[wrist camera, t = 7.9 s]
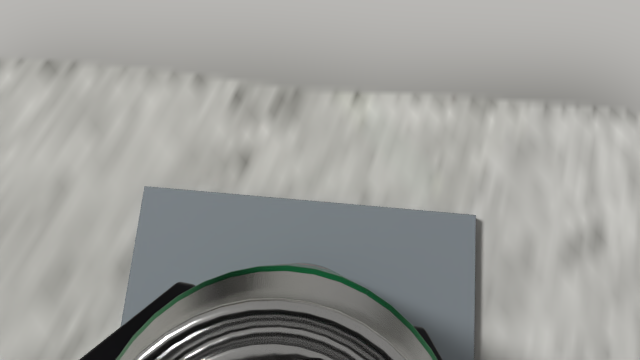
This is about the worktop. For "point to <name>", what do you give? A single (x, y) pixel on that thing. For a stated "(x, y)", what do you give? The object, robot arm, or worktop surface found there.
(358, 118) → the worktop surface
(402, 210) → the slate mat
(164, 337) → the soda can
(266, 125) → the worktop surface
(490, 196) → the worktop surface
